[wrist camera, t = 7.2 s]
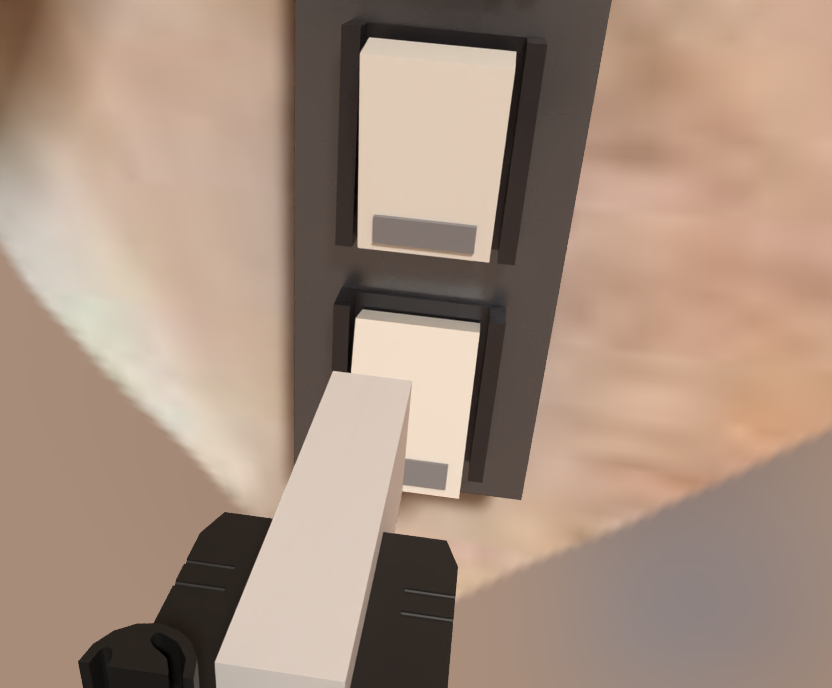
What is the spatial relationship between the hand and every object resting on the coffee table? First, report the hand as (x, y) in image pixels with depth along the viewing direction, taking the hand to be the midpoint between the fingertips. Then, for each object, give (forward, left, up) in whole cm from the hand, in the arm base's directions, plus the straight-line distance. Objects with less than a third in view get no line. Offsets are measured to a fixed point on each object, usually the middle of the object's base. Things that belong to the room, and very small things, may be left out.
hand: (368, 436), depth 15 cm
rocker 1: (-2, 0, -13) cm, 13 cm away
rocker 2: (+7, 0, -13) cm, 14 cm away
